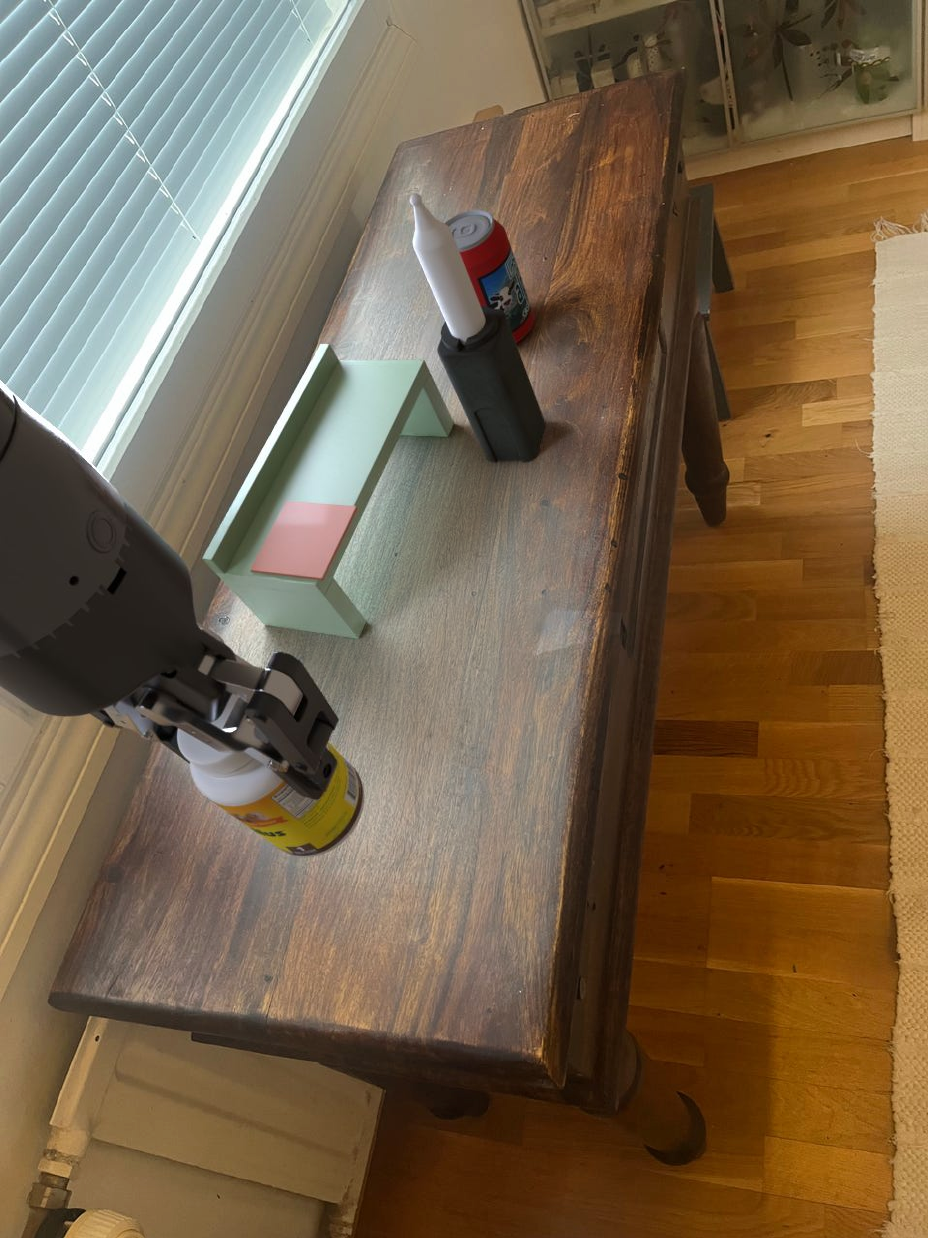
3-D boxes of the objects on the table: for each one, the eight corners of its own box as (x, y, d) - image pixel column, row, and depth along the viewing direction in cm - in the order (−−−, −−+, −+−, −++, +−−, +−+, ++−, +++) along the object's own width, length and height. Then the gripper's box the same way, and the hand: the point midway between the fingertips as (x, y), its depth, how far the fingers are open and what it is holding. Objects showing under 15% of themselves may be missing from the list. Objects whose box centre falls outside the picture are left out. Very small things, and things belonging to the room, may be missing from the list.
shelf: (363, 639, 77) (309, 571, 69) (263, 624, 82) (201, 558, 74) (459, 422, 87) (421, 341, 79) (365, 420, 92) (320, 343, 84)
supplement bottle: (252, 825, 49) (136, 741, 41) (321, 743, 51) (222, 646, 43) (319, 883, 46) (207, 805, 38) (390, 794, 47) (297, 700, 39)
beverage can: (532, 351, 89) (495, 245, 80) (466, 361, 92) (423, 260, 82) (539, 303, 93) (505, 197, 83) (476, 314, 95) (435, 212, 86)
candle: (548, 418, 84) (456, 165, 64) (536, 462, 81) (437, 213, 62) (496, 421, 86) (391, 176, 66) (483, 463, 83) (370, 223, 64)
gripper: (-175, 625, 32) (120, 808, 46) (123, 687, 26) (367, 879, 39) (-52, 462, 36) (190, 676, 49) (240, 480, 29) (428, 722, 42)
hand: (268, 766), depth 44 cm, fingers closed on supplement bottle, 5 cm apart
